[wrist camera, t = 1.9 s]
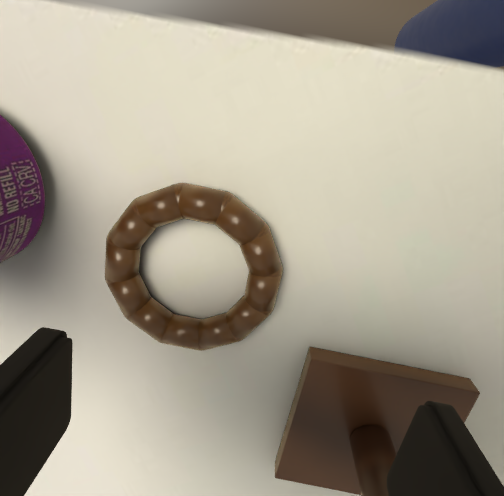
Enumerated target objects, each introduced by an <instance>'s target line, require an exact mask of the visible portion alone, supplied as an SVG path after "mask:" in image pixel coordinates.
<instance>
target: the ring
mask: <svg viewBox="0 0 504 496" xmlns="http://www.w3.org/2000/svg"><path fill="white" fill-rule="evenodd" d="M183 218H185V219H190V220H195V221H200V222H205V223H210V224H215V225H216V226H217V227H219V228H220V229H221V230H222V231H224V232H225V233H226V234H227V235H228V236H230V237H231V238H232V239H233V240H234V241H236V242H237V243H238V244H239V245H240V247H241V250H242V253H243V255H244V258H245V260H246V263H247V266H248V268H249V275H248V280H247V285H246V290H245V295H244V296H243V297H242V298H241V299H240V300H239V301H238V302H237V303H236V304H235V305H234V306H233V307H232V308H231V309H230V310H229V311H228V312H227V313H223V314H220V315H216V316H212V317H209V318H205V319H197V318H192V317H187V316H182V315H177V314H173V313H172V312H171V311H169V310H168V309H167V308H165V307H164V306H163V305H161V304H160V303H158V302H157V301H156V300H154V299H153V298H152V297H151V296H150V294H149V292H148V290H147V288H146V286H145V284H144V282H143V280H142V278H141V276H140V274H139V262H140V251H141V246H142V245H143V244H144V242H145V241H146V240H147V239H148V237H149V236H150V235H151V234H152V233H153V231H154V230H155V229H156V228H157V227H159V226H162V225H165V224H168V223H171V222H174V221H177V220H180V219H183ZM282 272H283V267H282V263H281V260H280V257H279V254H278V252H277V249H276V246H275V243H274V240H273V237H272V234H271V231H270V229H269V226H268V225H267V223H266V222H265V221H263V220H262V219H261V218H260V217H259V216H258V215H256V214H255V213H254V212H253V211H252V210H251V209H249V208H248V207H247V206H246V205H245V204H244V203H242V202H241V201H240V200H239V199H238V198H237V197H235V196H234V195H233V194H231V193H229V192H226V191H221V190H216V189H211V188H207V187H202V186H197V185H192V184H187V183H178V184H174V185H172V186H169V187H166V188H163V189H160V190H157V191H154V192H151V193H149V194H146V195H143V196H140V197H138V198H136V199H134V200H133V201H132V202H131V204H130V205H129V206H128V208H127V209H126V210H125V212H124V213H123V214H122V216H121V217H120V218H119V220H118V221H117V222H116V224H115V225H114V226H113V228H112V229H111V230H110V232H109V233H108V236H107V241H106V262H105V280H106V283H107V284H108V286H109V288H110V290H111V292H112V294H113V296H114V298H115V300H116V302H117V303H118V305H119V307H120V309H121V311H122V313H123V315H124V316H125V317H126V318H127V319H128V320H129V321H130V322H132V323H133V324H135V325H136V326H137V327H139V328H140V329H142V330H143V331H144V332H146V333H147V334H148V335H150V336H151V337H153V338H154V339H155V340H157V341H158V342H160V343H164V344H169V345H174V346H179V347H184V348H189V349H194V350H200V351H203V350H208V349H211V348H215V347H219V346H223V345H227V344H231V343H235V342H239V341H241V340H243V339H244V338H246V337H247V336H248V335H249V334H250V333H251V332H252V331H253V330H254V329H255V328H256V327H257V326H258V325H259V324H260V323H261V322H262V321H263V320H265V319H266V318H267V317H268V316H269V315H270V314H271V312H272V311H273V309H274V305H275V301H276V297H277V293H278V289H279V285H280V281H281V277H282Z"/></svg>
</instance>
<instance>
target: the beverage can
mask: <svg viewBox="0 0 504 496" xmlns="http://www.w3.org/2000/svg"><path fill="white" fill-rule="evenodd" d="M44 209H45V192H44V185H43V180H42V176H41V173H40V170H39V167H38V165H37V162H36V160H35V158H34V156H33V154H32V152H31V150H30V149H29V147H28V145H27V144H26V142H25V141H24V140H23V138H22V137H21V136H20V134H19V133H18V132H17V131H16V130H15V128H14V127H13V126H12V125H11V124H10V123H9V122H8V121H7V120H6V119H4V118H3V117H2V116H1V115H0V263H1V262H3V261H5V260H6V259H8V258H10V257H12V256H14V255H15V254H17V253H19V252H20V251H22V250H23V249H24V248H25V247H27V246H28V245H29V244H30V242H31V241H32V240H33V239H34V237H35V236H36V234H37V232H38V230H39V228H40V226H41V223H42V220H43V215H44Z"/></svg>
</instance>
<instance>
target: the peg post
mask: <svg viewBox="0 0 504 496" xmlns="http://www.w3.org/2000/svg"><path fill="white" fill-rule="evenodd" d="M479 394H480V392H479V391H478V389H477V388H476V386H475V385H474V384H473V382H472V381H471V379H469V378H464V377H459V376H454V375H449V374H444V373H439V372H434V371H429V370H424V369H419V368H414V367H409V366H404V365H399V364H394V363H389V362H384V361H379V360H374V359H369V358H364V357H359V356H354V355H349V354H344V353H339V352H334V351H329V350H324V349H319V348H314V347H310V348H309V350H308V354H307V357H306V360H305V364H304V367H303V370H302V374H301V377H300V380H299V384H298V387H297V390H296V394H295V397H294V400H293V404H292V407H291V410H290V414H289V417H288V420H287V424H286V427H285V430H284V434H283V437H282V440H281V444H280V447H279V450H278V454H277V457H276V460H275V478H278V479H283V480H288V481H293V482H298V483H303V484H308V485H313V486H318V487H323V488H329V489H334V490H339V491H344V492H349V493H354V494H359V495H361V496H389V493H388V490H387V475H388V472H389V470H390V468H391V466H392V463H393V461H394V459H395V457H396V455H397V452H398V450H399V448H400V446H401V444H402V441H403V439H404V437H405V435H406V432H407V430H408V428H409V426H410V424H411V421H412V419H413V417H414V415H415V413H416V410H417V408H418V407H419V406H420V405H424V404H425V403H426V402H427V401H434V402H439V403H445V404H450V405H452V406H453V407H454V408H455V410H456V411H457V413H458V414H459V416H460V418H461V419H462V421H463V422H465V420H466V418H467V417H468V415H469V413H470V411H471V409H472V407H473V405H474V404H475V402H476V400H477V398H478V396H479Z"/></svg>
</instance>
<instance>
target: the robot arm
mask: <svg viewBox="0 0 504 496" xmlns="http://www.w3.org/2000/svg"><path fill="white" fill-rule="evenodd" d="M71 389H72V339H71V338H67V334H66V332H64V331H60V330H55V329H50V328H44V327H43V328H40V329H39V330H37V331H36V332H35V333H34V334H33V335H32V336H31V337H30V338H29V339H28V340H27V341H26V342H24V343H23V344H22V345H21V346H20V347H19V348H18V349H17V350H16V351H15V352H14V353H13V354H12V355H10V356H9V357H8V358H7V359H6V360H5V361H4V362H3V363H2V364H1V365H0V496H24V495H25V493H26V492H27V490H28V488H29V487H30V485H31V484H32V482H33V481H34V479H35V478H36V476H37V475H38V473H39V471H40V470H41V468H42V467H43V465H44V464H45V462H46V461H47V459H48V457H49V456H50V454H51V453H52V451H53V450H54V448H55V447H56V445H57V443H58V442H59V440H60V439H61V437H62V436H63V434H64V433H65V431H66V429H67V427H68V425H69V422H70V418H71ZM387 490H388V493H389V496H504V487H503V485H502V483H501V482H500V480H499V479H498V477H497V475H496V474H495V472H494V471H493V469H492V467H491V466H490V464H489V463H488V461H487V459H486V458H485V456H484V455H483V453H482V451H481V450H480V448H479V447H478V445H477V443H476V442H475V440H474V439H473V437H472V435H471V434H470V432H469V431H468V429H467V427H466V426H465V424H464V422H463V421H462V419H461V418H460V416H459V414H458V413H457V411H456V410H455V408H454V407H453V406H452V405H450V404H445V403H439V402H434V401H427V402H426V403H425V404H424V405H420V406H419V407H418V408H417V410H416V413H415V415H414V417H413V419H412V421H411V424H410V426H409V428H408V430H407V432H406V435H405V437H404V439H403V441H402V444H401V446H400V448H399V450H398V452H397V455H396V457H395V459H394V461H393V463H392V466H391V468H390V470H389V472H388V475H387Z"/></svg>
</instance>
